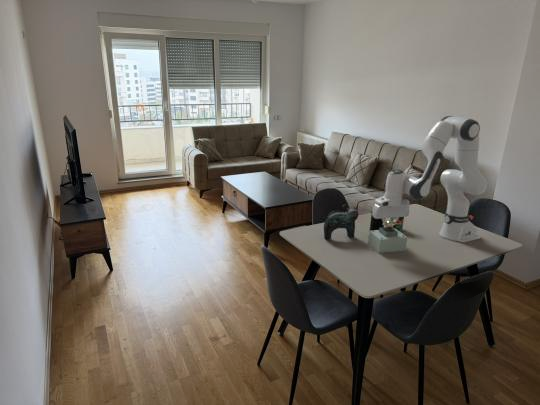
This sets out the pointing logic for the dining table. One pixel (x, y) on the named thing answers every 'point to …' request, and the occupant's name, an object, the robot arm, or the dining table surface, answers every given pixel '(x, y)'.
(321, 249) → the dining table surface
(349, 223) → the dark green animal figurine
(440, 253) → the dining table surface
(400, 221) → the canned tomato
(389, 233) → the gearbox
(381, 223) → the aerosol can
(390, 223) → the bead
